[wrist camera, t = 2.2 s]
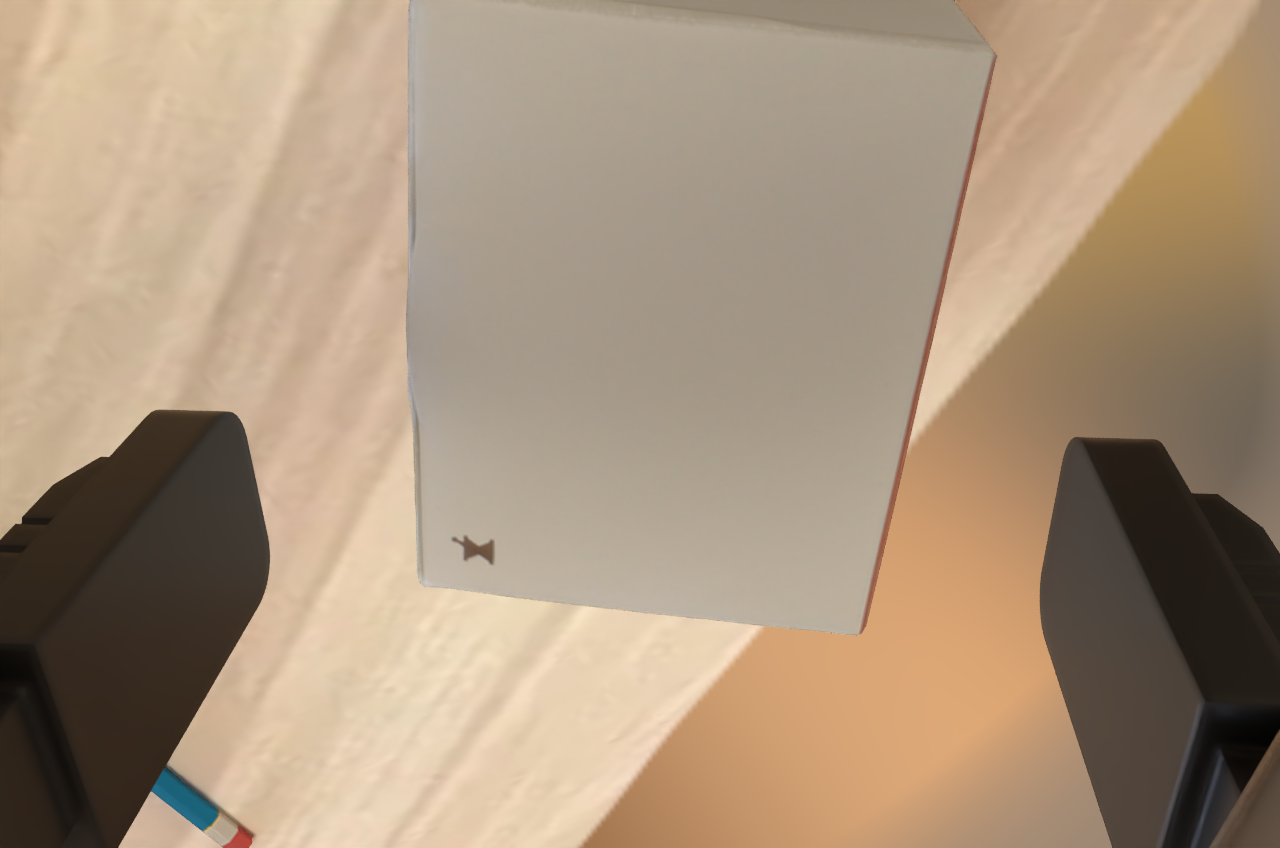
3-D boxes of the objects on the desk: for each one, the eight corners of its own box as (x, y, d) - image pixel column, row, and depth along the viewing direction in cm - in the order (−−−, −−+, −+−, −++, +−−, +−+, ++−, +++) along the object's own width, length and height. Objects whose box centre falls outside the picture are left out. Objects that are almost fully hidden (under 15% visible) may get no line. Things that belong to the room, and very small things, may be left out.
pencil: (240, 843, 39) (232, 860, 38) (-203, 491, 33) (-221, 505, 33) (256, 834, 39) (248, 851, 38) (-188, 477, 33) (-206, 491, 32)
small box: (820, 276, 27) (866, 654, 16) (548, 246, 27) (404, 599, 16) (886, -105, 23) (1011, 41, 12) (565, -137, 23) (388, -21, 12)
